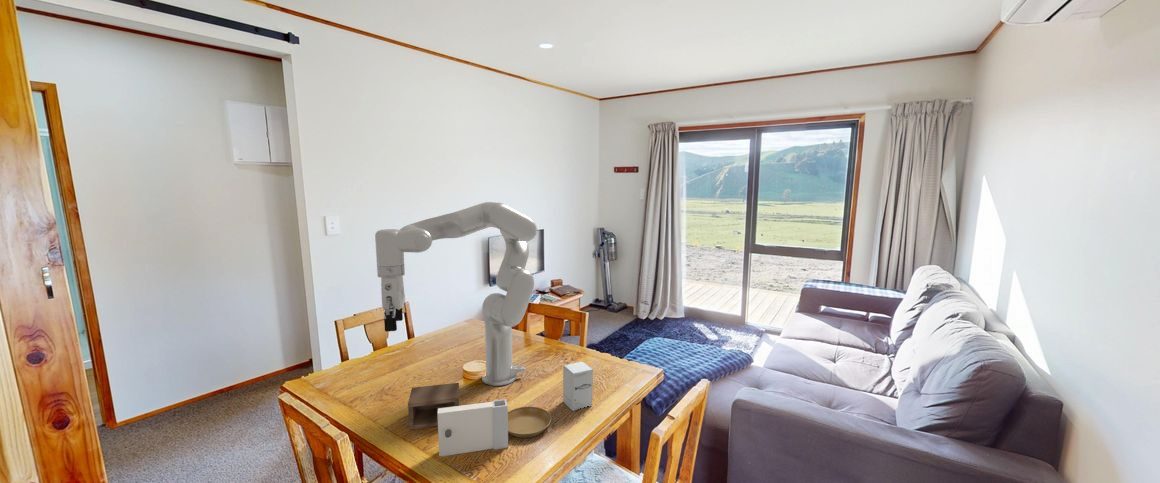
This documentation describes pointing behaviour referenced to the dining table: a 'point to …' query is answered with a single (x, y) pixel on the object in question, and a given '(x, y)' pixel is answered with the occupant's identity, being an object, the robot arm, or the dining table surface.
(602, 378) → the dining table surface
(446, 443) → the door
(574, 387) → the supplement box
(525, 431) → the plant saucer
